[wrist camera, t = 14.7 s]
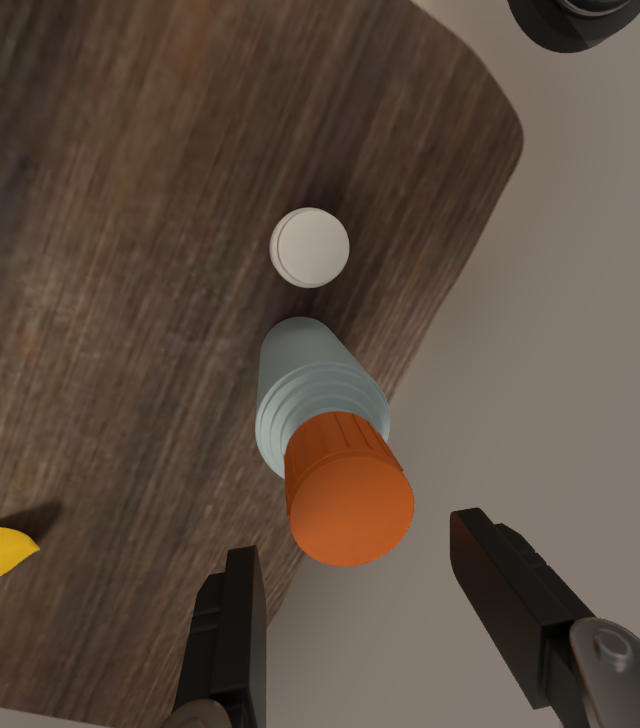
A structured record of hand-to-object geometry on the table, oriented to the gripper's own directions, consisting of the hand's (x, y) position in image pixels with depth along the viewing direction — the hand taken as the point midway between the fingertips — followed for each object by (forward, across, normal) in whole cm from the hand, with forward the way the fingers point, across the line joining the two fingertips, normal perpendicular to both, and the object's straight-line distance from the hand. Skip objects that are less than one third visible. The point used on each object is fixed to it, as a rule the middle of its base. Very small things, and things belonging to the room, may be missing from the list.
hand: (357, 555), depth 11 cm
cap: (+5, 0, 0) cm, 5 cm away
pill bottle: (+22, -1, -8) cm, 23 cm away
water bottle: (+22, 0, 0) cm, 22 cm away
